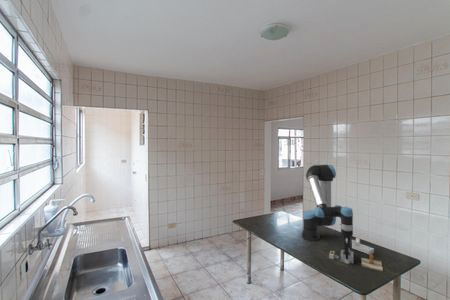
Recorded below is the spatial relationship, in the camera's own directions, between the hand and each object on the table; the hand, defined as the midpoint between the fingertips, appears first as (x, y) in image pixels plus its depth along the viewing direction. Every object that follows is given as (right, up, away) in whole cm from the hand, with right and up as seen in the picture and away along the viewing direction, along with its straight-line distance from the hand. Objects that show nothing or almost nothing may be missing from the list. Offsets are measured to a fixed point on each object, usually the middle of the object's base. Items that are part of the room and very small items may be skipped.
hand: (347, 259), depth 171 cm
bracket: (+19, 0, +13) cm, 23 cm away
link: (0, 0, 0) cm, 0 cm away
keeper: (+13, 0, -7) cm, 15 cm away
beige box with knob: (-9, 0, +5) cm, 10 cm away
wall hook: (-6, 0, +4) cm, 7 cm away
